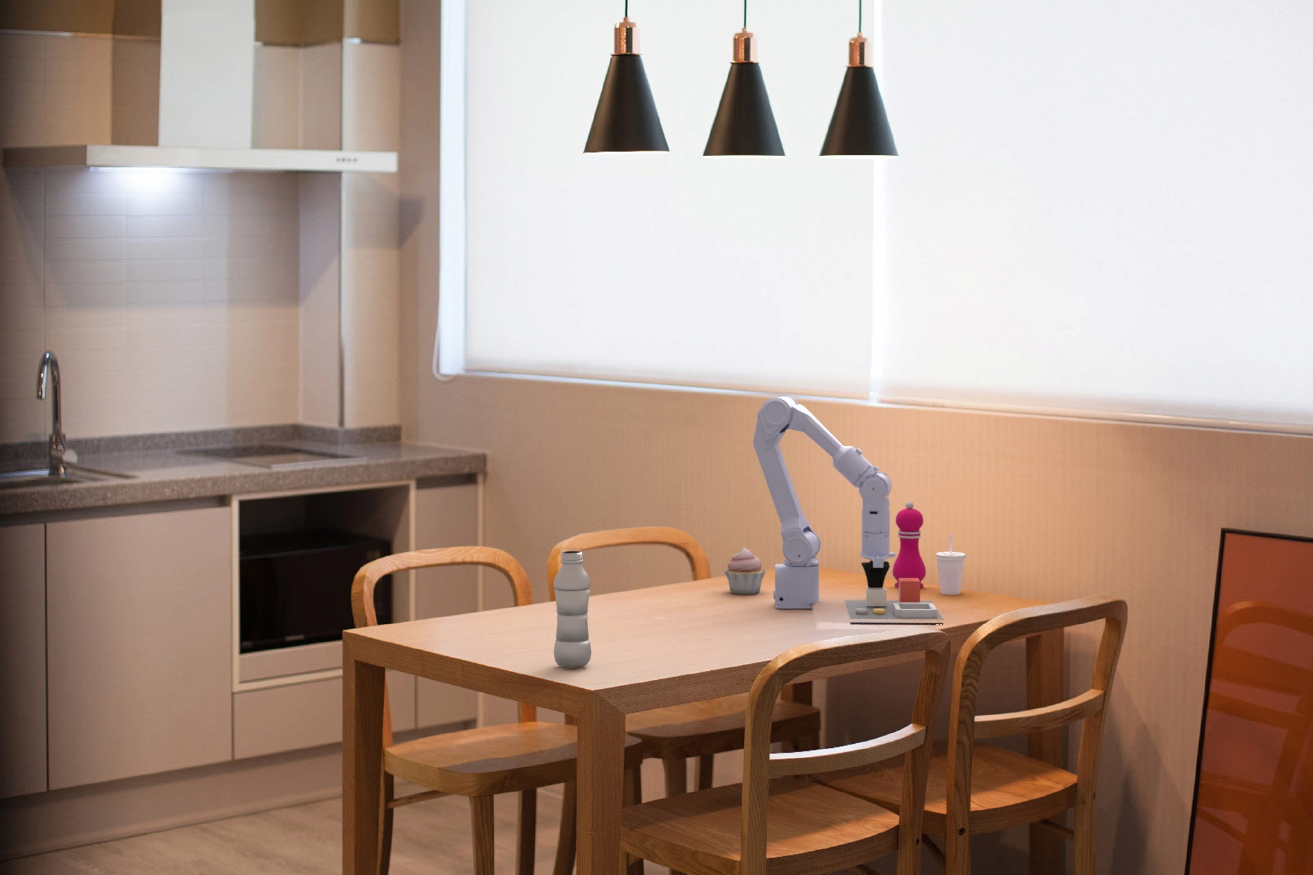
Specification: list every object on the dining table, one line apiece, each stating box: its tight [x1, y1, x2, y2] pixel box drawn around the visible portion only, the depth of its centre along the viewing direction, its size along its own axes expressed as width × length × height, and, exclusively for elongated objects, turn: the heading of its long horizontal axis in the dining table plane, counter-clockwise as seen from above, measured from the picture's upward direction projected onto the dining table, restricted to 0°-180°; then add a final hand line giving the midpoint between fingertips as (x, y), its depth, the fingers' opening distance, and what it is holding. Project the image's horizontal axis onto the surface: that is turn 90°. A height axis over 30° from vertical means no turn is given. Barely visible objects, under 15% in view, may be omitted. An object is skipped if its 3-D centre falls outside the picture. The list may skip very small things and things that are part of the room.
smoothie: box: [935, 532, 967, 596], centre depth 329 cm, size 6×6×14 cm
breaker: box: [865, 587, 888, 606], centre depth 315 cm, size 4×2×3 cm, turn 86°
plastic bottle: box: [553, 550, 592, 668], centre depth 265 cm, size 6×7×20 cm
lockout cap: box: [898, 578, 921, 603], centre depth 317 cm, size 4×4×5 cm
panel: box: [844, 599, 944, 626], centre depth 311 cm, size 18×20×3 cm
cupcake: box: [723, 546, 767, 595], centre depth 338 cm, size 9×9×10 cm
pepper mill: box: [892, 500, 927, 589], centre depth 337 cm, size 7×7×20 cm
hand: (875, 597), depth 317 cm, fingers closed
